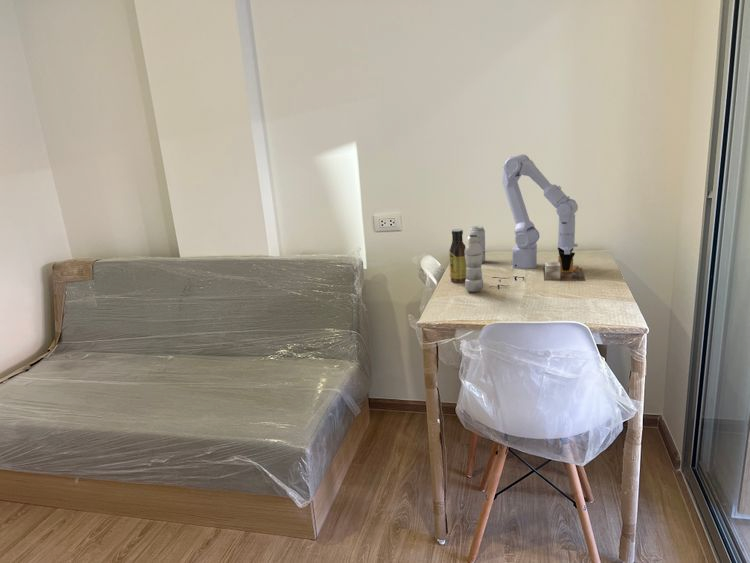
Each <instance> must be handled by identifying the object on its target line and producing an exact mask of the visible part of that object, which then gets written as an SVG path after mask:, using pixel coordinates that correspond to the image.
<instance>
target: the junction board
mask: <svg viewBox="0 0 750 563" xmlns="http://www.w3.org/2000/svg"><path fill="white" fill-rule="evenodd" d="M542 271H543V280H544V281H550V282H551V281H552V282H554V281H555V282H556V281H557V282H565V281H566V282H586V278H585V274H584V272H583V268H581V267H580V266H579V265H573V272H560V262H558V261H557V262H556V261H555V262H554V261H552V262H551V261H549V262H547V261H546V262H545V266H544V267H543V268H542Z"/></svg>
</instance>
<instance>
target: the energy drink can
mask: <svg viewBox="0 0 750 563" xmlns="http://www.w3.org/2000/svg"><path fill="white" fill-rule="evenodd" d="M469 233H470V234H469V236H470V235H478V239H479V241H478V243H479V244H480V246H481V247H482V250H483V254H482V263H484V262H485V261H486V230H485V228H484V226H483V225H473V226H471V229H470V231H469Z"/></svg>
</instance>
